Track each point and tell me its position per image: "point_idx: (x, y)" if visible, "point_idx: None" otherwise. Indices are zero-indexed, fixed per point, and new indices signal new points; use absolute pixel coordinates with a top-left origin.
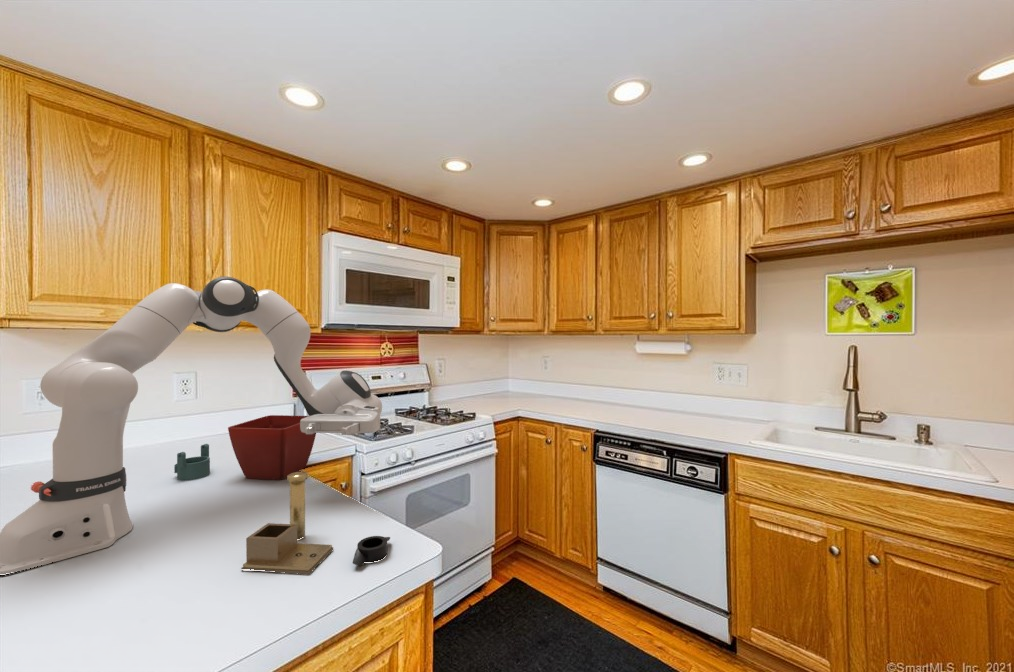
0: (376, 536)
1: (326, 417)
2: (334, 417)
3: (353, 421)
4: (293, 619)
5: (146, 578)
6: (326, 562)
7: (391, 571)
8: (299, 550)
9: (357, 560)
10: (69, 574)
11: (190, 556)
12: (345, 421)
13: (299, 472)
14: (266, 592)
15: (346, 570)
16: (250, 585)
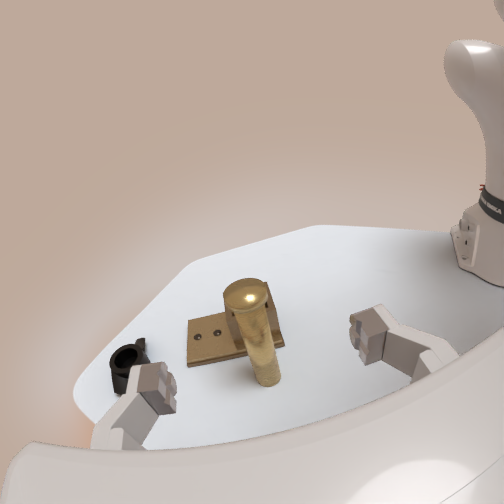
0: (124, 371)
1: (445, 454)
2: (366, 497)
3: (117, 451)
4: (171, 289)
5: (353, 268)
6: (183, 345)
7: (109, 350)
8: (223, 339)
9: (140, 341)
10: (419, 247)
11: (364, 296)
12: (179, 448)
13: (250, 299)
14: (215, 297)
15: (153, 341)
16: None
